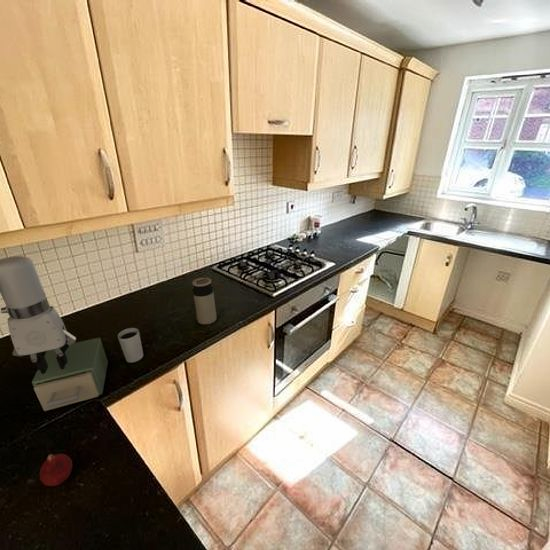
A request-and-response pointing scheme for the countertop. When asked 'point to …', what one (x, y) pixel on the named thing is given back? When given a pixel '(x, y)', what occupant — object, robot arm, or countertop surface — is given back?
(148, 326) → the countertop surface
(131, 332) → the grey cup
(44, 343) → the robot arm
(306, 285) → the countertop surface
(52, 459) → the onion
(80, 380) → the drawer
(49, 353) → the cabinet
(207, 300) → the travel mug
